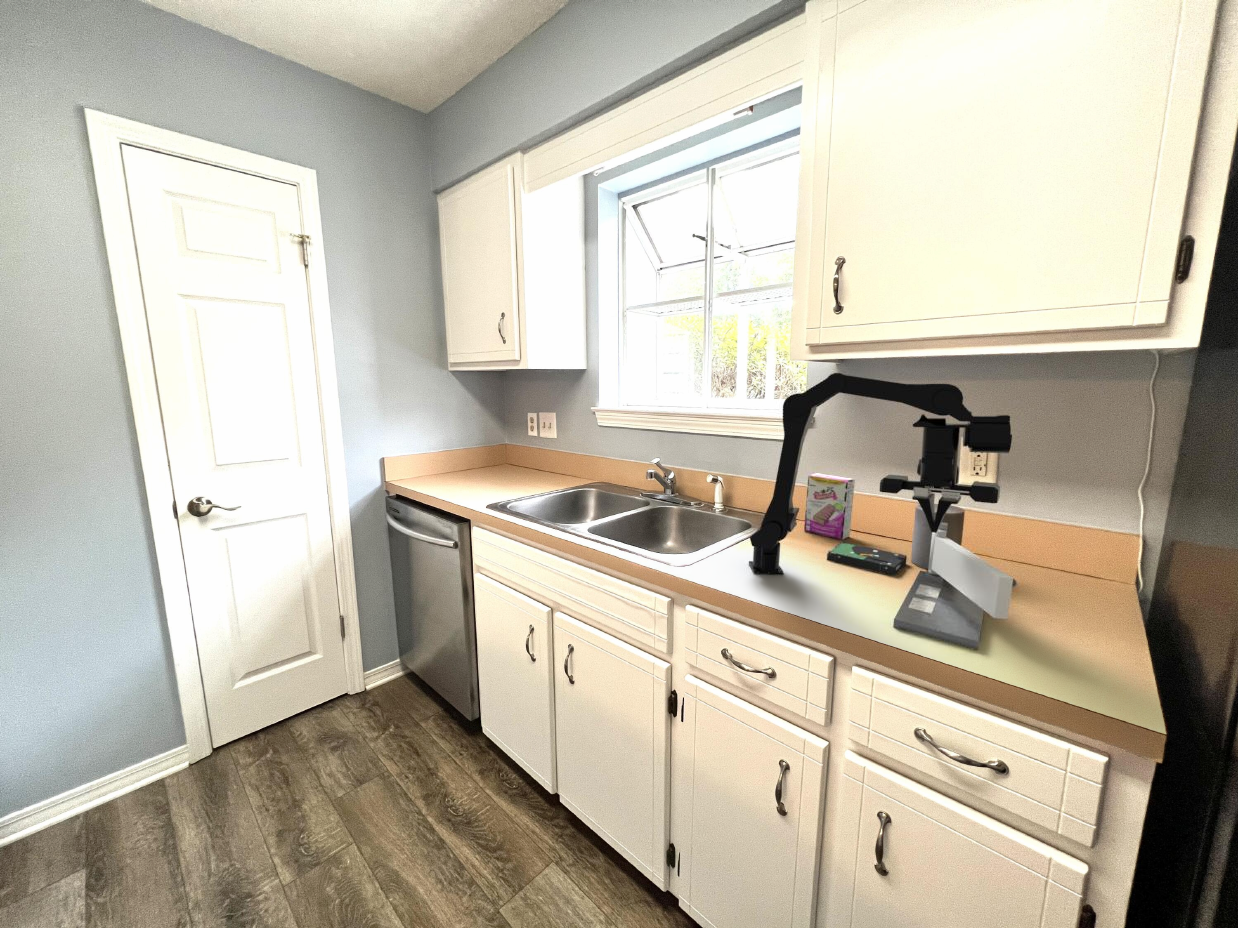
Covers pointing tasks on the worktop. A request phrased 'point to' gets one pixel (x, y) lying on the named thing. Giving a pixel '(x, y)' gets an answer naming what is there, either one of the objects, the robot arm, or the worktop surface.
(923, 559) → the pillar candle
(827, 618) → the worktop surface
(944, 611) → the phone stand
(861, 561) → the disk drive
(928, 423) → the robot arm
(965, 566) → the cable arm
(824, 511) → the candy bar box
